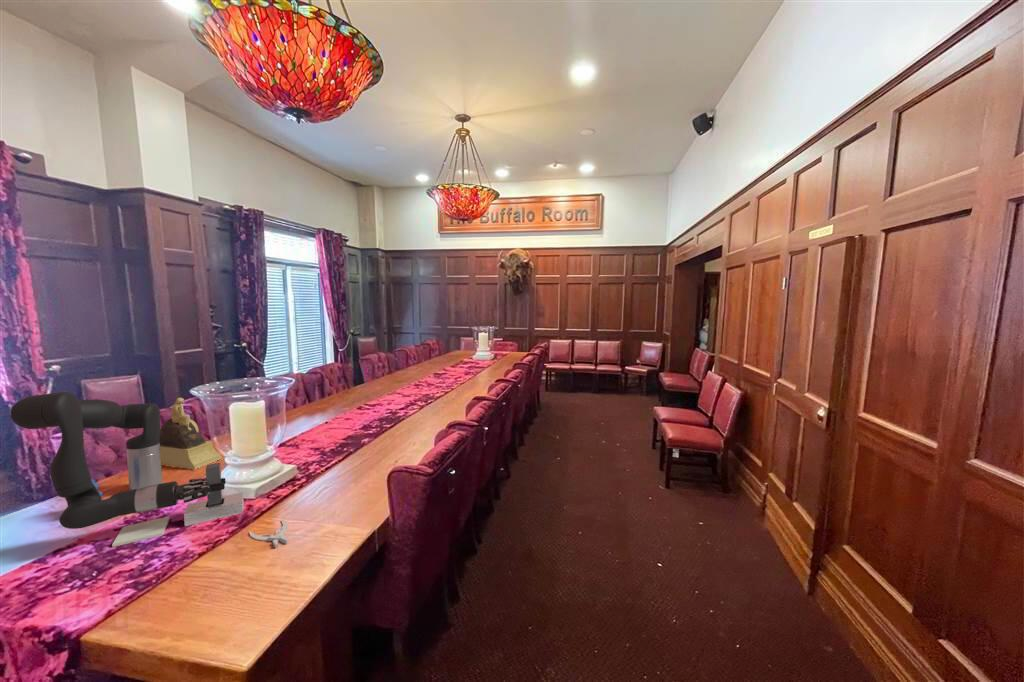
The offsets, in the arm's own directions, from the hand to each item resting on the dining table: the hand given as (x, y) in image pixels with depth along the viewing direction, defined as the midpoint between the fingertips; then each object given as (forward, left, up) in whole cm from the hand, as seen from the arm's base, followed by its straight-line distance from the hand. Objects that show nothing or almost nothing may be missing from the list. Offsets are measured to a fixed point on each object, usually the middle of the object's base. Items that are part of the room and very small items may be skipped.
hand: (224, 483), depth 131 cm
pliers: (+25, +13, -11) cm, 30 cm away
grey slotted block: (0, -3, -10) cm, 10 cm away
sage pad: (+1, -21, -10) cm, 23 cm away
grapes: (-23, -39, -10) cm, 46 cm away
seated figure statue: (-64, -19, -10) cm, 67 cm away
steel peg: (0, -3, -10) cm, 10 cm away
